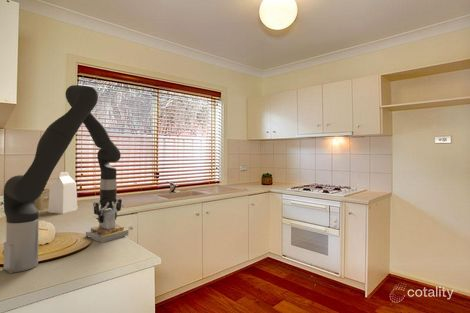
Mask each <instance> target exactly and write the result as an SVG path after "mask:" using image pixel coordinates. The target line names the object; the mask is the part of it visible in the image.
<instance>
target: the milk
mask: <svg viewBox="0 0 470 313" xmlns="http://www.w3.org/2000/svg"><path fill="white" fill-rule="evenodd" d="M48 195H49V196H48V208H47V210H48V211H47V212H48V213H53V214H60V215H61V214H62V215H63V214H66V213H70V212H74V211H78V193H77V183H76V181H75V180H74V179H73V178H72V177H71V176H70V174H69V171H62V172H59V173H58V175H57V177H55V178H54V180H52V181H51V182H50V185H49V194H48Z"/></svg>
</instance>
